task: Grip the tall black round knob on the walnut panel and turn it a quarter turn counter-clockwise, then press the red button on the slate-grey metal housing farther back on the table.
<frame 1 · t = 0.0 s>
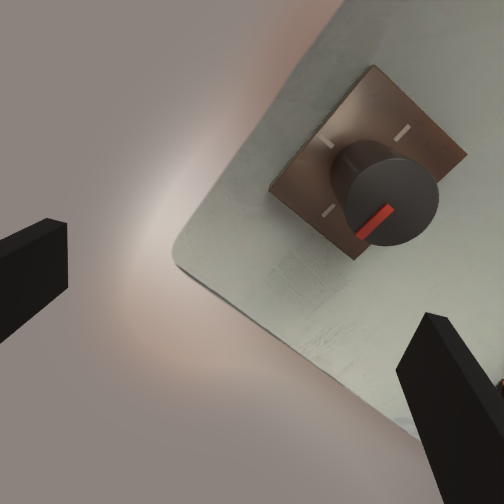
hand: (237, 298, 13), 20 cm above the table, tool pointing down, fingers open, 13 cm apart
dial: (374, 187, 24), point 7 cm above the table, hinge at 0.0°
knob panel: (358, 168, 30), on the table
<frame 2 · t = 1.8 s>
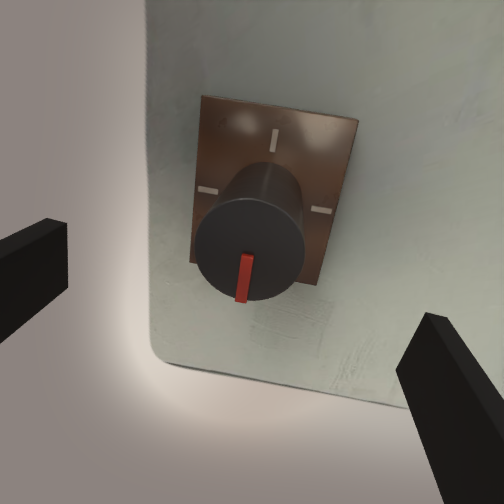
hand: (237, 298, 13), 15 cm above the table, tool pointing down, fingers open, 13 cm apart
dial: (257, 221, 20), point 7 cm above the table, hinge at 0.0°
knob panel: (266, 192, 26), on the table
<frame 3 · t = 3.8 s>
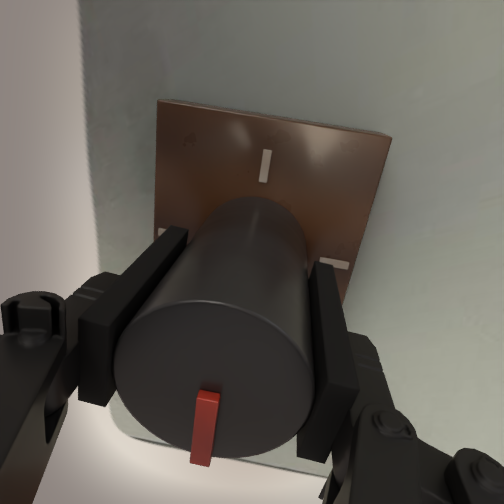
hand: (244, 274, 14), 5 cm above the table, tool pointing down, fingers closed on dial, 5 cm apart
dial: (237, 298, 13), point 7 cm above the table, hinge at -0.1°, touching gripper
knob panel: (256, 233, 19), on the table
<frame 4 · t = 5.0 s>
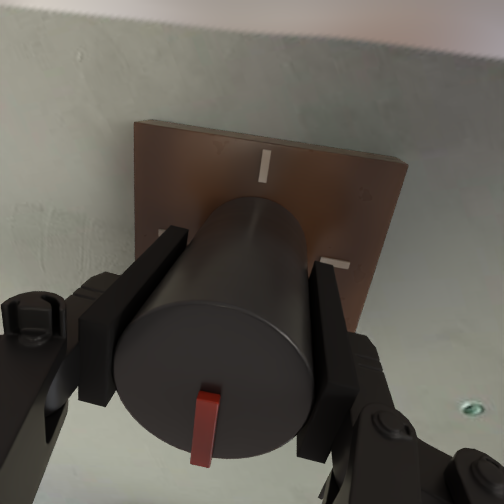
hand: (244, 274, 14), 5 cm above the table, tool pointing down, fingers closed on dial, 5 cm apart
dial: (237, 298, 13), point 7 cm above the table, hinge at 89.6°, touching gripper
knob panel: (257, 233, 19), on the table
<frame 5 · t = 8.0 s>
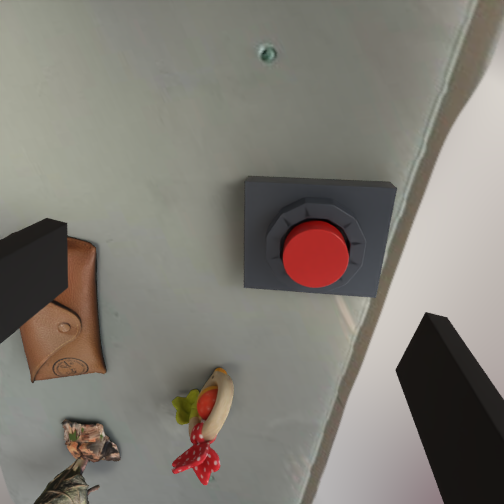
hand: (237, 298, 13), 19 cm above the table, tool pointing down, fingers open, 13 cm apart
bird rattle: (213, 381, 41), on the table
button box: (312, 233, 31), on the table
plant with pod: (94, 443, 48), on the table
sunglasses case: (70, 306, 39), on the table
button: (314, 254, 27), point 5 cm above the table, slide at 0.1 cm
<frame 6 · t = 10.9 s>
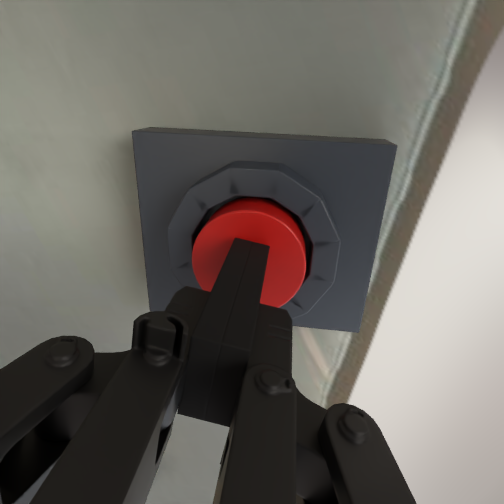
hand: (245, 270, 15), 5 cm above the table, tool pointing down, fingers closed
button box: (259, 226, 19), on the table
button: (250, 255, 16), point 4 cm above the table, slide at -0.5 cm, touching gripper
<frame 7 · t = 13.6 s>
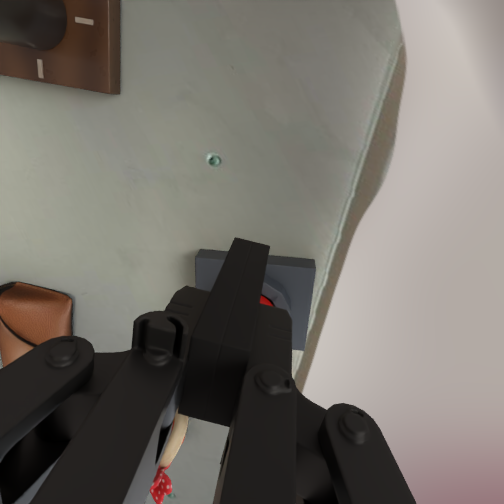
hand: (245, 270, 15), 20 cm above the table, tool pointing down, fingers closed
knob panel: (52, 18, 29), on the table
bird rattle: (173, 412, 47), on the table
button box: (254, 295, 38), on the table
sunglasses case: (48, 345, 44), on the table
button: (249, 319, 34), point 5 cm above the table, slide at 0.1 cm
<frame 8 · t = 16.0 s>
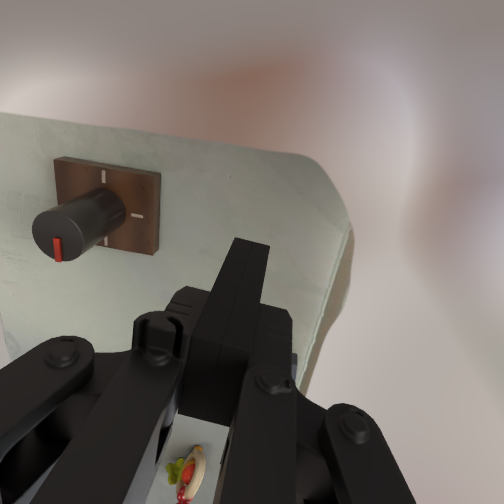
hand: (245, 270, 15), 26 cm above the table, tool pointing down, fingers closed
dial: (83, 222, 37), point 7 cm above the table, hinge at 89.3°
knob panel: (113, 204, 43), on the table
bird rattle: (193, 453, 61), on the table
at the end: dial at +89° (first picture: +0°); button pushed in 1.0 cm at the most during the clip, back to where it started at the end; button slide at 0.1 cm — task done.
